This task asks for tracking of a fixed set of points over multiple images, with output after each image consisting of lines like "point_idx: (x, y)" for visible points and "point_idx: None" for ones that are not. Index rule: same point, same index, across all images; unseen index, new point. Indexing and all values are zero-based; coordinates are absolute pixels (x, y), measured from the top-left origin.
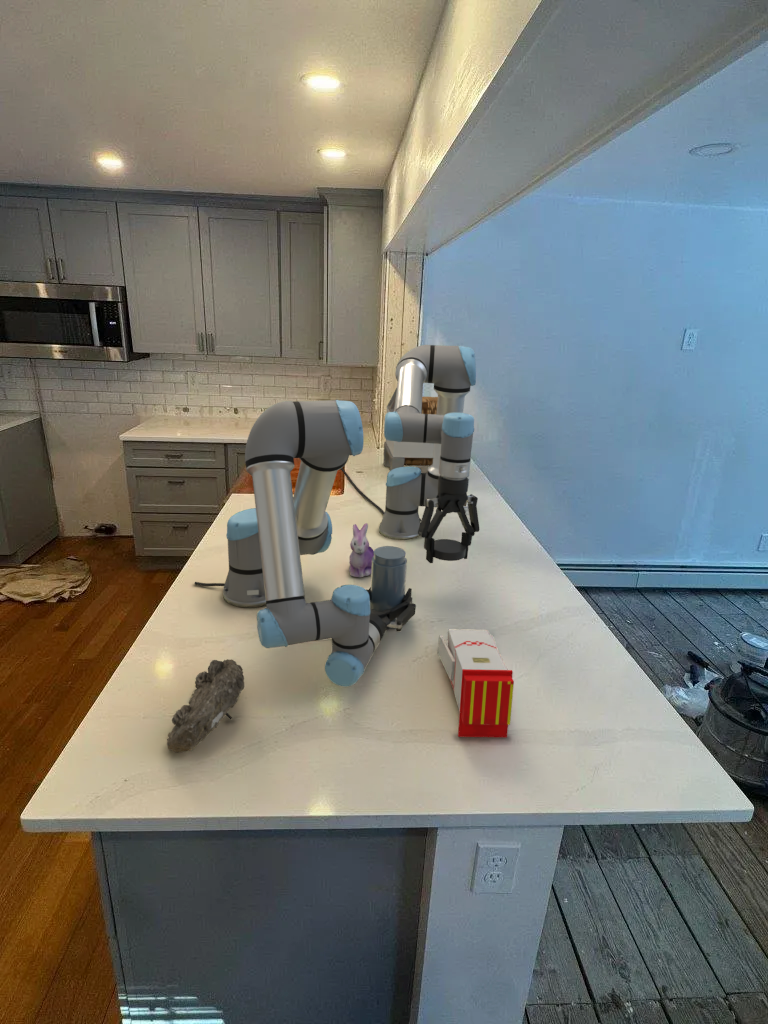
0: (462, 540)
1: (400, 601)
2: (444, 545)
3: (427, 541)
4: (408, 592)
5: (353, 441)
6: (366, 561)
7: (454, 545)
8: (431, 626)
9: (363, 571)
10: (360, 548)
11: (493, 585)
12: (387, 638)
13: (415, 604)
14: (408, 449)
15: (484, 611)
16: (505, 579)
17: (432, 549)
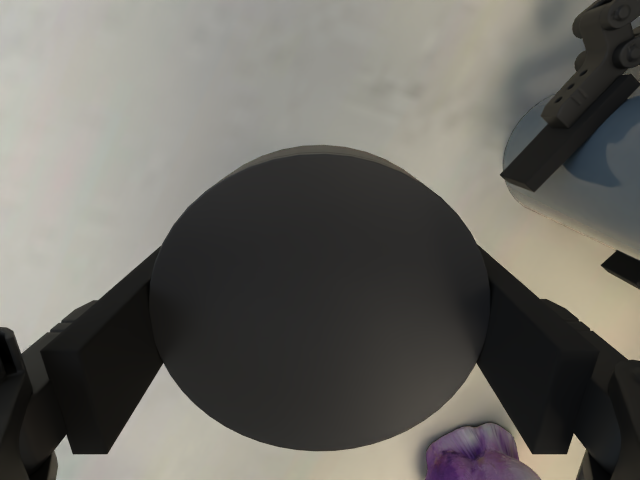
0: (144, 366)
1: (635, 92)
2: (347, 339)
3: (615, 358)
4: (564, 149)
5: None
6: (494, 473)
7: (254, 318)
8: (435, 58)
9: (485, 441)
10: None
11: (68, 271)
12: (637, 26)
13: (609, 12)
14: None
15: (180, 101)
16: (6, 298)
17: (512, 287)
